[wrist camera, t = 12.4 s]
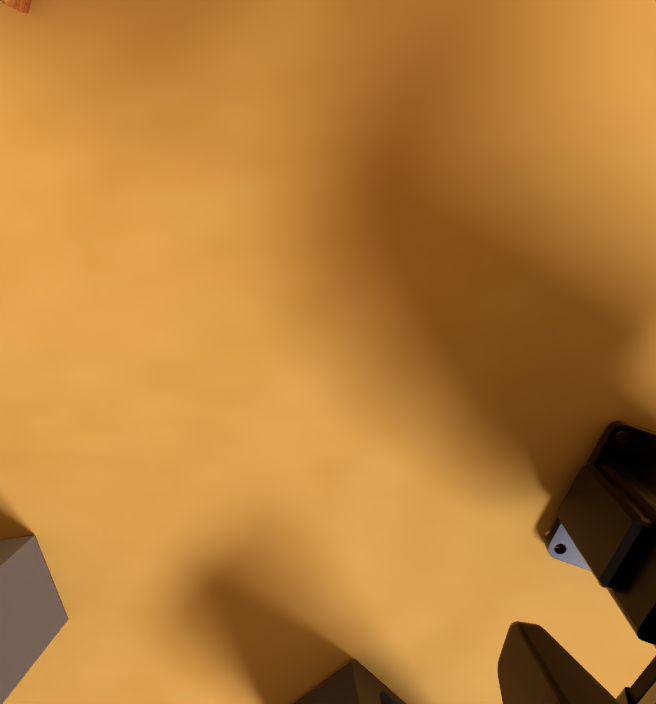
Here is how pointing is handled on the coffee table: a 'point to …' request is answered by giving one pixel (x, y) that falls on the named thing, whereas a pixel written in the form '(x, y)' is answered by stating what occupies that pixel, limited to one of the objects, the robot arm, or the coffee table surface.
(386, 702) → the door stopper
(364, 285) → the coffee table surface
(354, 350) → the coffee table surface
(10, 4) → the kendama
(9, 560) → the grey box
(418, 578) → the coffee table surface
